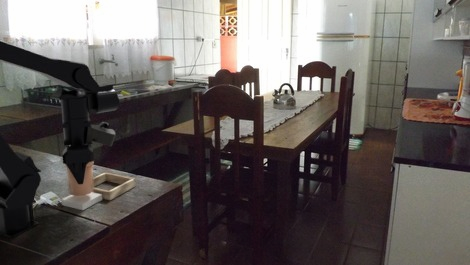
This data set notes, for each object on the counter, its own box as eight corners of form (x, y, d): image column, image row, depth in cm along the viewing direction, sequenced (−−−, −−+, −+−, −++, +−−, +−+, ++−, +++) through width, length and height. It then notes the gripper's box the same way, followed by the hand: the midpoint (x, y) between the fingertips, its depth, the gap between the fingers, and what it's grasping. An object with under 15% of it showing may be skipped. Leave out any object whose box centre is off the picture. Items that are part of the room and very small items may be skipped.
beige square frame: (110, 200, 93) (109, 192, 92) (78, 192, 97) (77, 185, 96) (135, 186, 102) (135, 178, 102) (105, 179, 106) (105, 172, 106)
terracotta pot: (81, 198, 87) (79, 165, 85) (61, 193, 89) (58, 161, 87) (101, 188, 92) (99, 158, 90) (81, 184, 95) (79, 154, 93)
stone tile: (82, 210, 87) (82, 204, 87) (62, 204, 90) (61, 199, 89) (102, 199, 93) (102, 194, 93) (82, 195, 96) (81, 189, 95)
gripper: (115, 123, 81) (119, 190, 85) (109, 107, 97) (112, 164, 101) (59, 126, 77) (65, 196, 80) (62, 109, 93) (67, 168, 97)
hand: (80, 179), depth 90 cm, fingers closed on terracotta pot, 6 cm apart
